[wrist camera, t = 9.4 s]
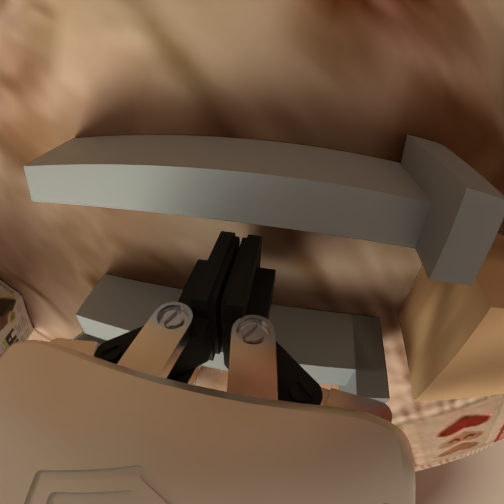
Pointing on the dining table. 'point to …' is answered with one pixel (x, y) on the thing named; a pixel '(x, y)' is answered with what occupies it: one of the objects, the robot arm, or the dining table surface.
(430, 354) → the block
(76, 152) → the chute
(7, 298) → the coffee box
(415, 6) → the dining table surface
